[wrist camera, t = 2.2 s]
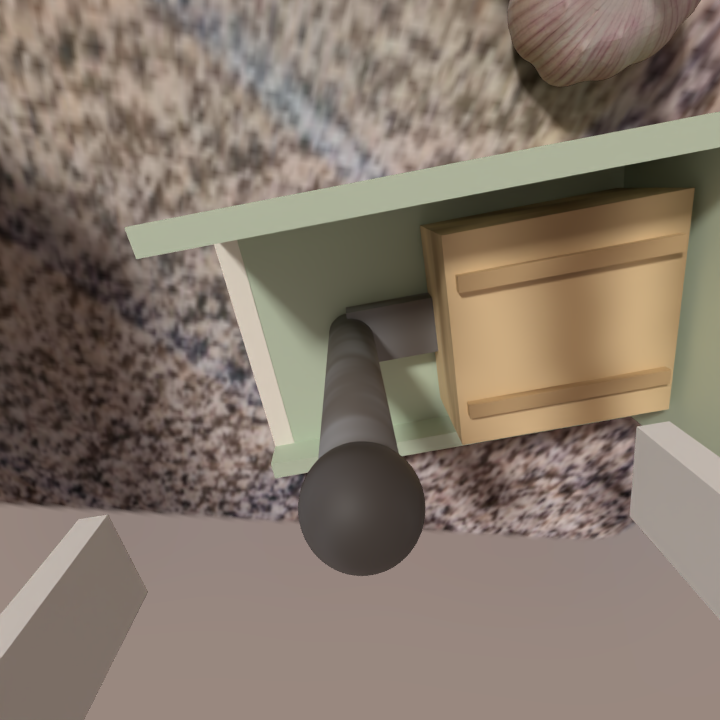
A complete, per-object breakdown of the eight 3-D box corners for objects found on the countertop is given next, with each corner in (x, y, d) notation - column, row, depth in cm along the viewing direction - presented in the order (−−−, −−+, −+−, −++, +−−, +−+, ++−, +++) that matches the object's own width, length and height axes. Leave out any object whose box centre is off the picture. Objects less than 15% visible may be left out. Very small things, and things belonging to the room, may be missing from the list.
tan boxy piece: (340, 418, 25) (339, 709, 11) (302, 247, 22) (226, 362, 7) (607, 371, 25) (958, 612, 11) (617, 187, 21) (1183, 186, 7)
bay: (280, 453, 27) (254, 570, 19) (208, 212, 22) (124, 227, 13) (621, 393, 27) (749, 487, 18) (639, 128, 21) (836, 88, 13)
